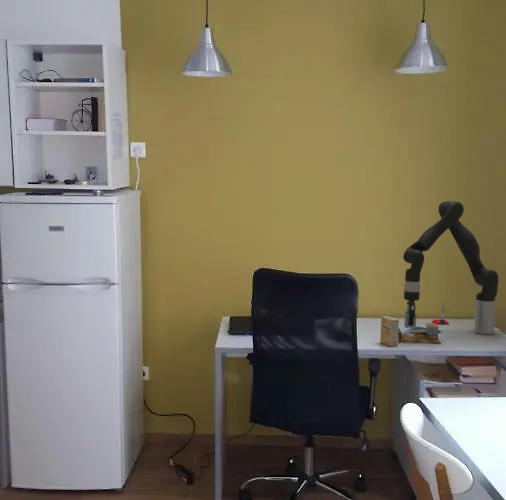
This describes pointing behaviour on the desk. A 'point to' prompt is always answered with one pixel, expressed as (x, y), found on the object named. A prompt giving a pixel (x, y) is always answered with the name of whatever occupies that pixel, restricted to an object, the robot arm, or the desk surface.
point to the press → (418, 338)
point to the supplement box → (389, 331)
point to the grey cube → (431, 329)
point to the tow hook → (441, 317)
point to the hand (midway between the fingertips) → (410, 324)
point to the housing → (408, 321)
